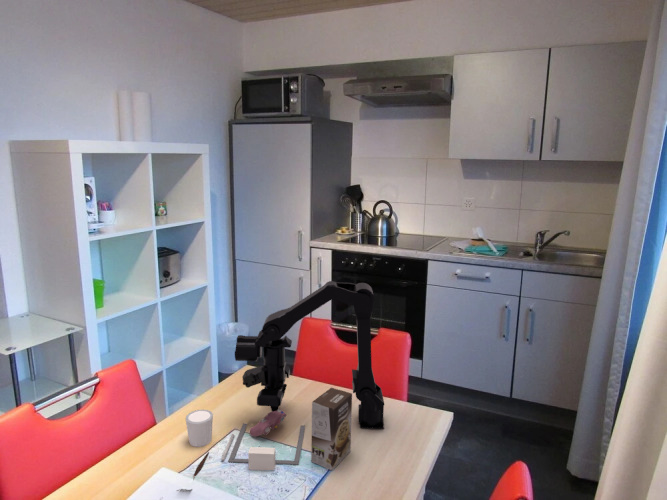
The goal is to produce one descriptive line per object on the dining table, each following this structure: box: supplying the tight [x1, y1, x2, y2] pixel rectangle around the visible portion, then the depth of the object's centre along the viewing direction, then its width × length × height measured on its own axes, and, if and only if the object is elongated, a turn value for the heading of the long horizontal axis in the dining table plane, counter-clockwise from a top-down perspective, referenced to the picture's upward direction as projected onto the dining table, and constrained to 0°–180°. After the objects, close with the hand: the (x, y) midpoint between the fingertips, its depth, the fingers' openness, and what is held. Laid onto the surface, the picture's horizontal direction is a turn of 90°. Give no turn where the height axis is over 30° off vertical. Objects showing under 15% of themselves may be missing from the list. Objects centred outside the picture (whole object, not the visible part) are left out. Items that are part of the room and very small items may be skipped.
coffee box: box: [310, 387, 353, 471], centre depth 117 cm, size 9×6×16 cm
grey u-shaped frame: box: [220, 422, 306, 471], centre depth 122 cm, size 19×19×4 cm
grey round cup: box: [185, 409, 214, 448], centre depth 123 cm, size 7×7×7 cm
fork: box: [176, 452, 210, 493], centre depth 111 cm, size 3×16×2 cm, turn 173°
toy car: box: [249, 408, 287, 438], centre depth 128 cm, size 10×5×7 cm, turn 145°
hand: (274, 412), depth 133 cm, fingers closed
